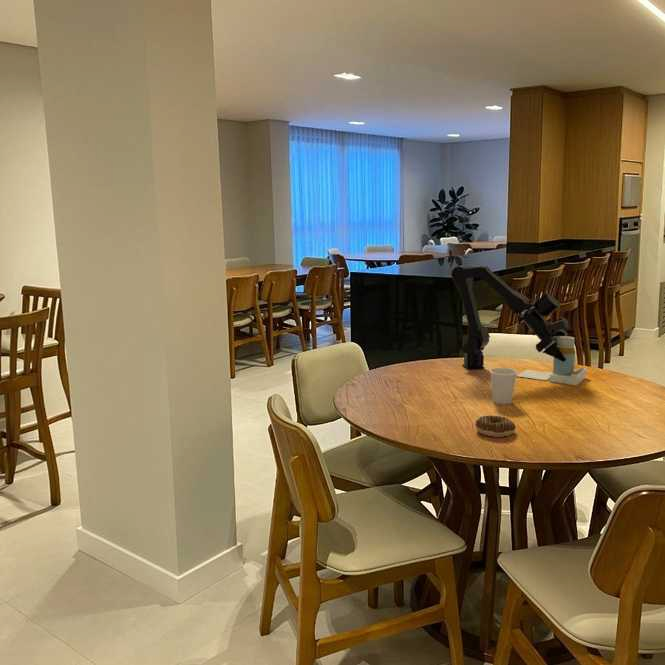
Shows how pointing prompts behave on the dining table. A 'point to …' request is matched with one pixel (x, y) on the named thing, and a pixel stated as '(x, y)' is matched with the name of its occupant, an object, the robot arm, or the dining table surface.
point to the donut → (495, 426)
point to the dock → (570, 377)
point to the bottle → (568, 352)
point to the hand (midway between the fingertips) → (568, 358)
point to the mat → (535, 375)
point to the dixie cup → (503, 384)
